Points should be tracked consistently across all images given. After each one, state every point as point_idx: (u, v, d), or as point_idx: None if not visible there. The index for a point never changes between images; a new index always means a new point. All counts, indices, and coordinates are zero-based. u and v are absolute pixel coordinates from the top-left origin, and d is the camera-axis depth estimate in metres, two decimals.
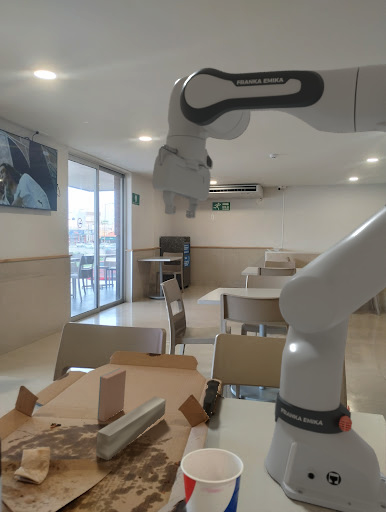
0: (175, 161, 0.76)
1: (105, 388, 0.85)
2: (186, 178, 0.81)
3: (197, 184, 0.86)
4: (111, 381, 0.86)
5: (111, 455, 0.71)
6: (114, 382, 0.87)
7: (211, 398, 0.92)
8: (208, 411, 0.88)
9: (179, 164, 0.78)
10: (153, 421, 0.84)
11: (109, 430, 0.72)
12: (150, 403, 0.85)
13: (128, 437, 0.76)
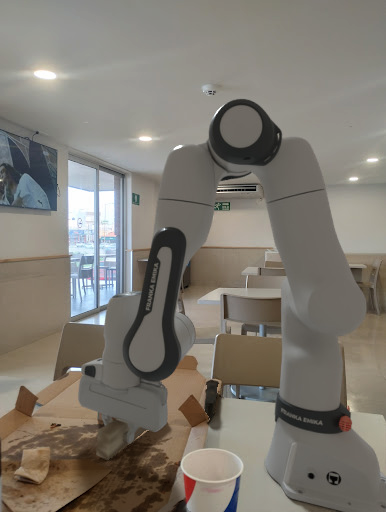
0: None
1: None
2: None
3: None
4: None
5: (111, 454, 0.71)
6: None
7: (212, 398, 0.92)
8: (210, 411, 0.88)
9: None
10: None
11: (109, 428, 0.72)
12: None
13: None
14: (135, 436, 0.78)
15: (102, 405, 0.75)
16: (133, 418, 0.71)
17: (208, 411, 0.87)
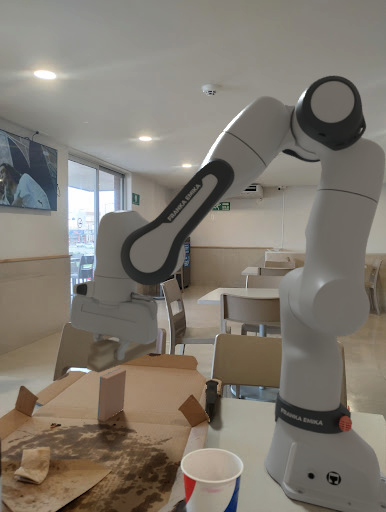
0: None
1: (105, 388, 0.85)
2: None
3: None
4: (111, 381, 0.86)
5: (102, 367, 0.72)
6: (114, 382, 0.87)
7: (213, 398, 0.92)
8: (212, 411, 0.88)
9: None
10: (144, 348, 0.85)
11: (100, 343, 0.73)
12: None
13: None
14: (126, 357, 0.79)
15: (93, 324, 0.76)
16: (123, 333, 0.72)
17: (209, 411, 0.87)
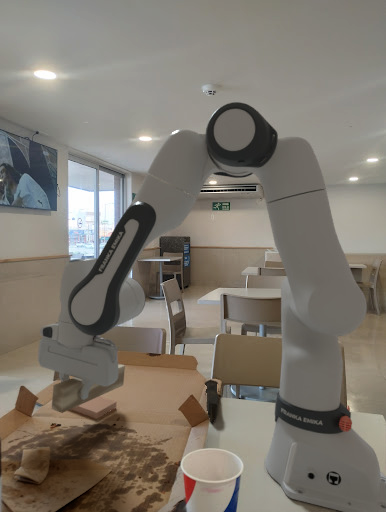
0: None
1: None
2: None
3: None
4: None
5: (65, 407, 0.76)
6: None
7: (215, 399, 0.92)
8: (214, 412, 0.88)
9: None
10: None
11: (64, 384, 0.78)
12: None
13: None
14: (91, 395, 0.83)
15: (59, 364, 0.80)
16: (86, 374, 0.77)
17: (212, 412, 0.87)
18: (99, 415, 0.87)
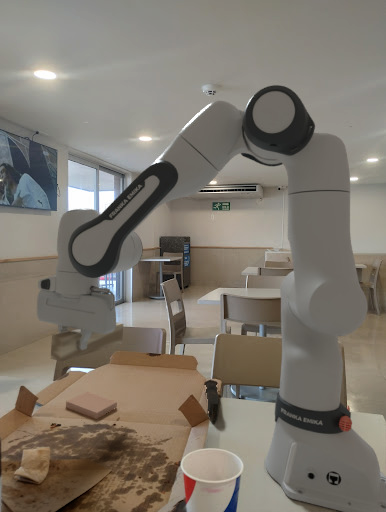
0: None
1: (73, 405, 0.89)
2: None
3: None
4: (75, 399, 0.91)
5: (64, 356, 0.77)
6: (80, 399, 0.92)
7: (216, 399, 0.92)
8: (216, 412, 0.88)
9: None
10: (110, 340, 0.89)
11: (63, 334, 0.78)
12: None
13: None
14: (89, 348, 0.83)
15: (57, 316, 0.81)
16: (84, 324, 0.77)
17: (214, 412, 0.87)
18: (99, 415, 0.87)
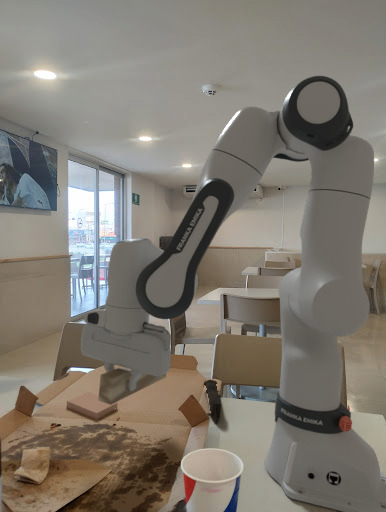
0: None
1: (73, 405, 0.89)
2: None
3: None
4: (76, 399, 0.92)
5: (114, 398, 0.71)
6: (81, 399, 0.92)
7: (218, 399, 0.92)
8: (219, 412, 0.88)
9: None
10: None
11: (112, 374, 0.72)
12: None
13: None
14: (137, 386, 0.77)
15: (104, 353, 0.75)
16: (136, 364, 0.71)
17: (217, 412, 0.87)
18: (99, 415, 0.86)
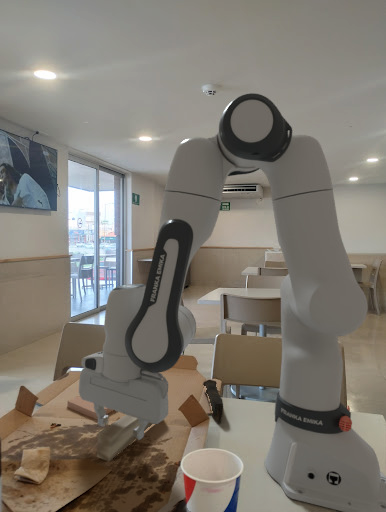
0: None
1: (74, 405, 0.89)
2: None
3: None
4: (77, 399, 0.92)
5: (112, 456, 0.71)
6: (82, 399, 0.92)
7: (219, 399, 0.92)
8: (221, 412, 0.88)
9: None
10: None
11: (109, 431, 0.72)
12: None
13: (129, 437, 0.75)
14: None
15: (102, 398, 0.75)
16: (134, 410, 0.71)
17: (219, 412, 0.87)
18: None
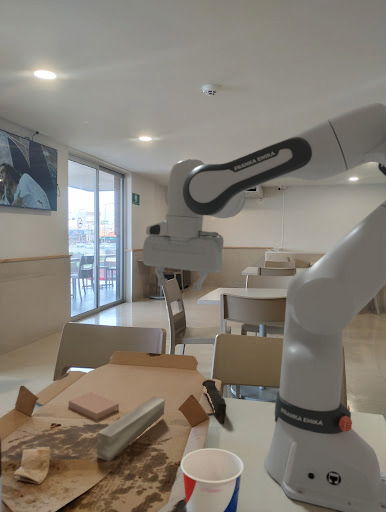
0: None
1: (75, 405, 0.90)
2: None
3: None
4: (78, 399, 0.92)
5: (112, 456, 0.71)
6: (83, 399, 0.92)
7: (222, 399, 0.92)
8: (225, 412, 0.88)
9: None
10: (152, 421, 0.84)
11: (109, 431, 0.72)
12: (149, 404, 0.85)
13: (129, 437, 0.75)
14: (134, 438, 0.77)
15: (164, 260, 0.88)
16: (193, 264, 0.84)
17: (223, 412, 0.87)
18: (99, 416, 0.86)
